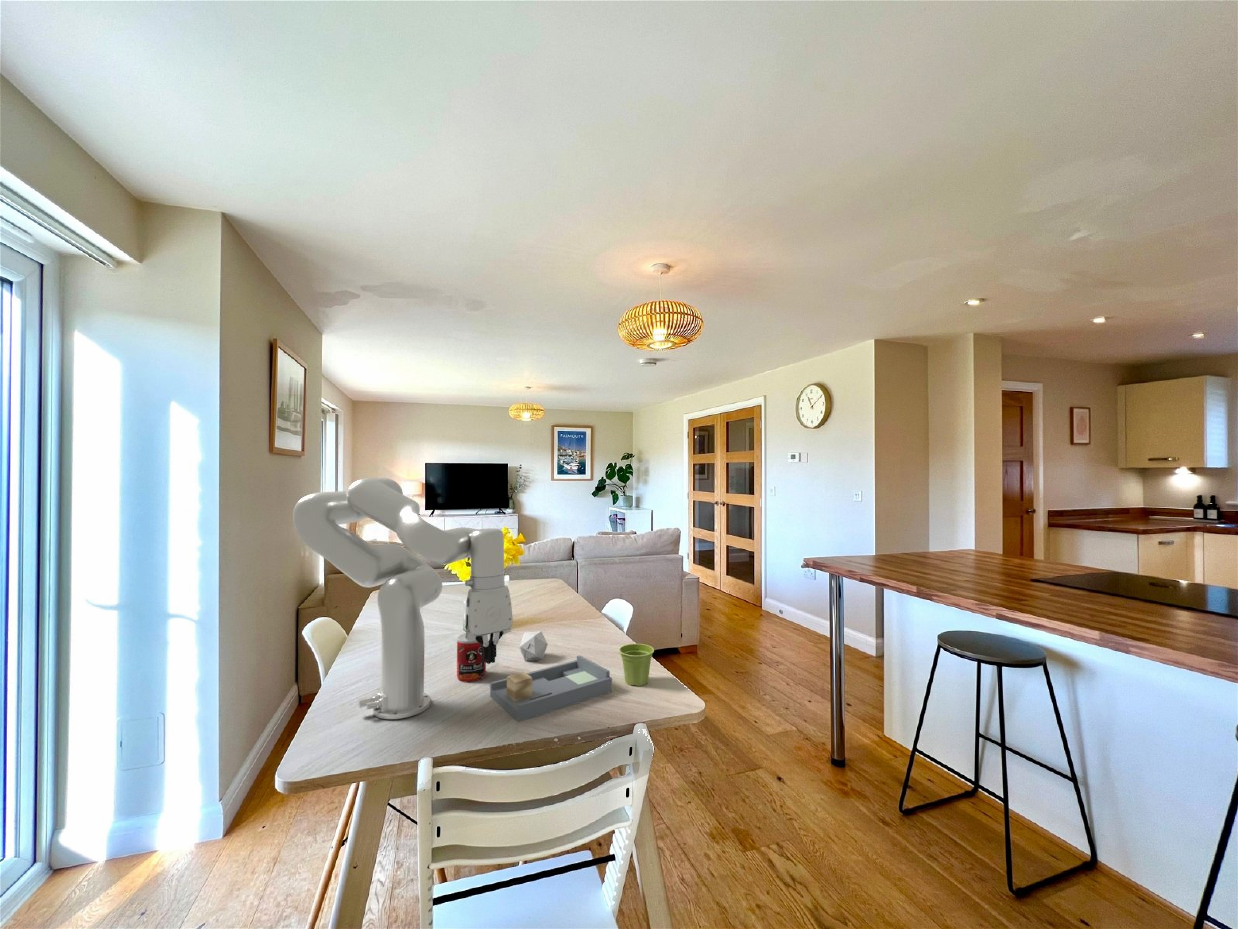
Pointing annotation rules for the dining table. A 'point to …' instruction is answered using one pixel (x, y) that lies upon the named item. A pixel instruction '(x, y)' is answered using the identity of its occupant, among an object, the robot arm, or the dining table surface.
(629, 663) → the plant pot
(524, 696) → the block
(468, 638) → the robot arm
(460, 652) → the canned food
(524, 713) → the box
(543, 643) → the die
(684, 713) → the dining table surface
